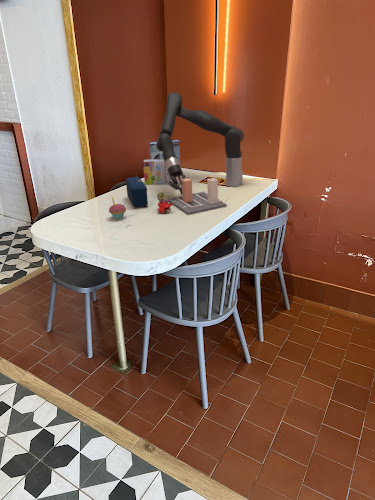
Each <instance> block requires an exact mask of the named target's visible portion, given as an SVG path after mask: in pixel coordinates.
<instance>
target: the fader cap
mask: <svg viewBox="0 0 375 500" xmlns="http://www.w3.org/2000/svg"><path fill="white" fill-rule="evenodd" d="M189 178H190V177H189ZM189 178H188V177H187V179H182V195H181V196H183V201H184V202H185V203H189V202H193V197H192V194H193V180H192V179H191V178H190V179H189Z"/></svg>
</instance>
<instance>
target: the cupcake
mask: <svg viewBox="0 0 375 500" xmlns="http://www.w3.org/2000/svg"><path fill="white" fill-rule="evenodd" d="M111 200H112V203H113V204H112V205H111V206H110V207H109V208H108V213H110V214H111V216H112V218H113V220H118V221H119V220H123V219H124V216H125V213H126V212H127V207H126V206H125V205H124V204H122V203H115V199H114V197H113V196H111Z"/></svg>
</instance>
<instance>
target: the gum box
mask: <svg viewBox="0 0 375 500" xmlns="http://www.w3.org/2000/svg"><path fill="white" fill-rule="evenodd" d="M172 142H173V147H174V153H175V155H176V158H177V160H178V162H179V164H180V167H181V152H180V149H181V148H180V140H178V139H174V140H173V139H172ZM156 143H157V141H152V142H149V143H148V144H149V156H150V160H158V159H163V156H162V154H163V151H159V150H158V149H157V146H156ZM181 168H182V167H181Z"/></svg>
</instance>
